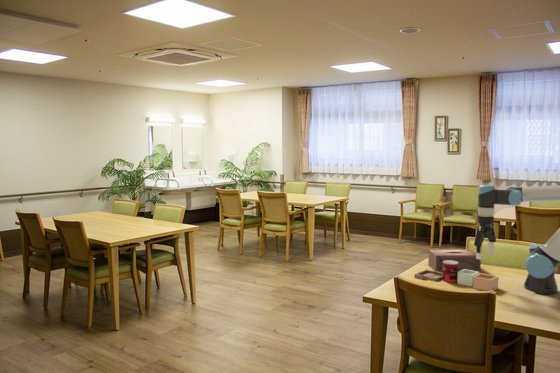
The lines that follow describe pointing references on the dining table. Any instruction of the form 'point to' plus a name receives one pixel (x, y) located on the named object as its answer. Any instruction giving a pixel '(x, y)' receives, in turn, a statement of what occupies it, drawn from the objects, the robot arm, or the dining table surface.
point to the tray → (429, 275)
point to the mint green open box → (466, 277)
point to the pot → (485, 282)
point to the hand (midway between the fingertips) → (484, 256)
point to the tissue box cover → (454, 259)
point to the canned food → (450, 271)
